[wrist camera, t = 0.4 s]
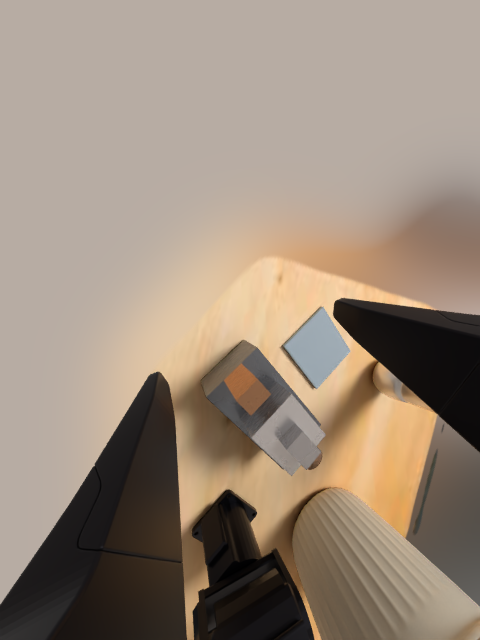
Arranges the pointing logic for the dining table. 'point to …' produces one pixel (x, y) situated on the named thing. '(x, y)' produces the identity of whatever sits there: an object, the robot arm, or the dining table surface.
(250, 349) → the body
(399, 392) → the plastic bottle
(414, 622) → the canister
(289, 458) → the lever cap
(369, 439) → the dining table surface
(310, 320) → the rubber pad
